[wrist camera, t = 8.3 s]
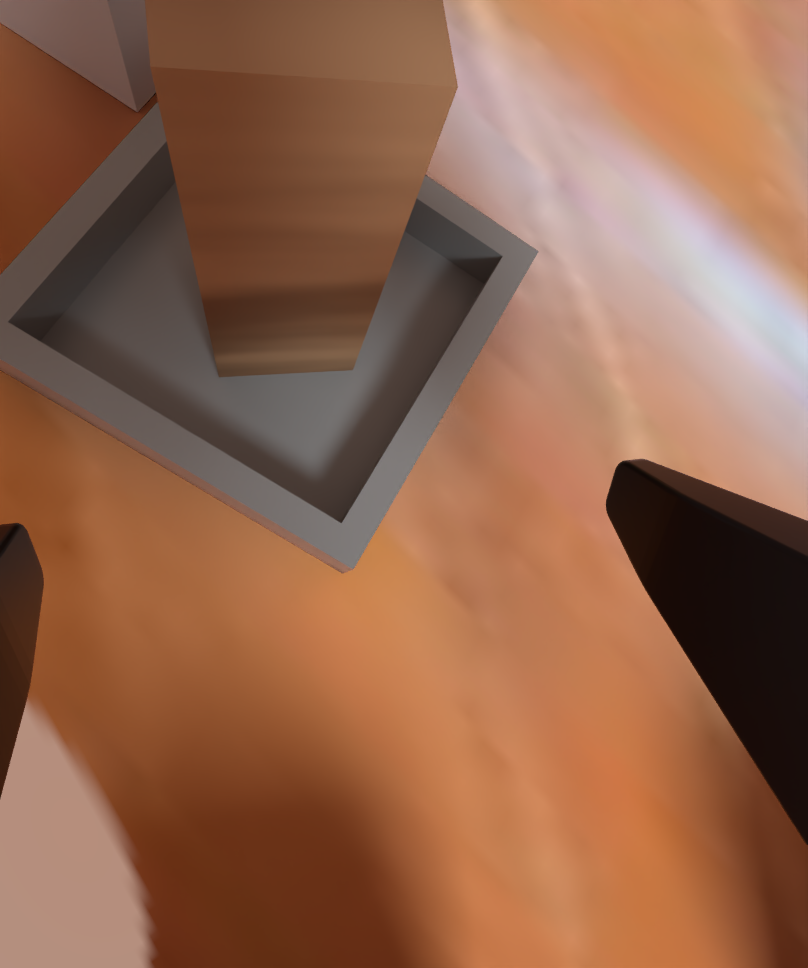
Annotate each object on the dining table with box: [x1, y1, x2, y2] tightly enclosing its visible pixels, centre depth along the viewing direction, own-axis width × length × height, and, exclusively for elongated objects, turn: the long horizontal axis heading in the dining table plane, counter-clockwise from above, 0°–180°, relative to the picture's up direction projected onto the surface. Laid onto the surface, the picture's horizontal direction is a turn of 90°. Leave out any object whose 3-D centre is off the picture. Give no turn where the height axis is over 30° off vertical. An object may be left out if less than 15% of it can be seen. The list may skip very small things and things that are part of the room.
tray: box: [0, 102, 539, 573], centre depth 20 cm, size 13×13×3 cm
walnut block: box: [145, 0, 458, 377], centre depth 15 cm, size 4×4×12 cm
